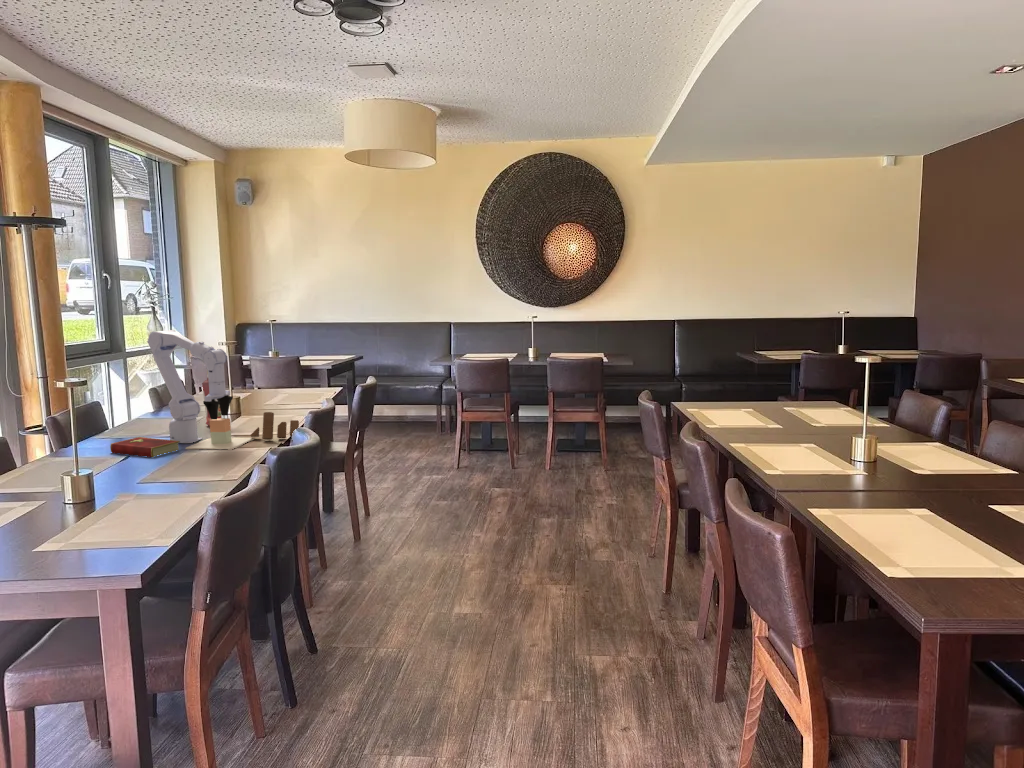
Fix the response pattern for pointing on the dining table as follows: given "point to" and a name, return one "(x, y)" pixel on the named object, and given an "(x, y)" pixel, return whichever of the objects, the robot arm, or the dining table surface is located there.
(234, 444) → the build pad
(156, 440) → the hardcover book
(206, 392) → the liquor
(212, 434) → the sage block
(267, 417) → the wooden block set
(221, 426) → the terracotta block
